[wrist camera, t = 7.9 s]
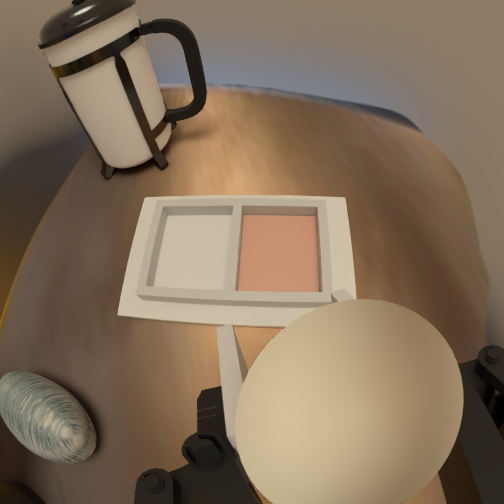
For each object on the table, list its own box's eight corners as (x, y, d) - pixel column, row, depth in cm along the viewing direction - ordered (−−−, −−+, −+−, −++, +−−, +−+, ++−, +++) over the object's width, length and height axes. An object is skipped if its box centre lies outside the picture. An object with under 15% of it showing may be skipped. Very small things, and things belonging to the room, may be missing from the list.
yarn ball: (3, 423, 21) (-33, 398, 15) (33, 372, 28) (8, 337, 22) (87, 483, 21) (66, 481, 15) (114, 425, 29) (104, 404, 22)
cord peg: (257, 438, 14) (226, 522, 4) (263, 358, 17) (245, 295, 6) (341, 438, 14) (451, 498, 3) (345, 360, 16) (456, 297, 6)
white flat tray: (120, 316, 31) (109, 309, 28) (147, 201, 38) (139, 188, 35) (355, 327, 29) (363, 321, 26) (343, 201, 36) (348, 187, 33)
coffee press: (125, 206, 38) (17, 16, 11) (89, 158, 43) (14, 19, 16) (219, 138, 42) (184, -53, 15) (167, 105, 48) (126, -37, 21)
